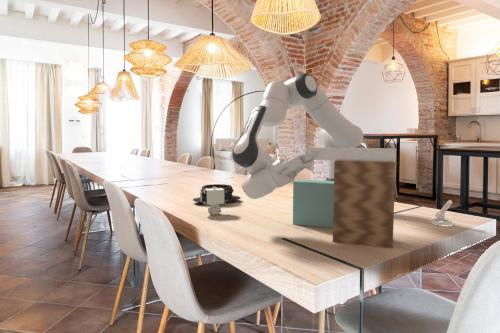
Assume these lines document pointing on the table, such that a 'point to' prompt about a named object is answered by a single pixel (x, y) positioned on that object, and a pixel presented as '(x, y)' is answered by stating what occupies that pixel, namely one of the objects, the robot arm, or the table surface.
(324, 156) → the rail
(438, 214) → the hook
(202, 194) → the pneumatic valve
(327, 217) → the mint green rectangular block
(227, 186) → the casserole
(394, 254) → the table surface
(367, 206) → the stand
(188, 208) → the table surface
